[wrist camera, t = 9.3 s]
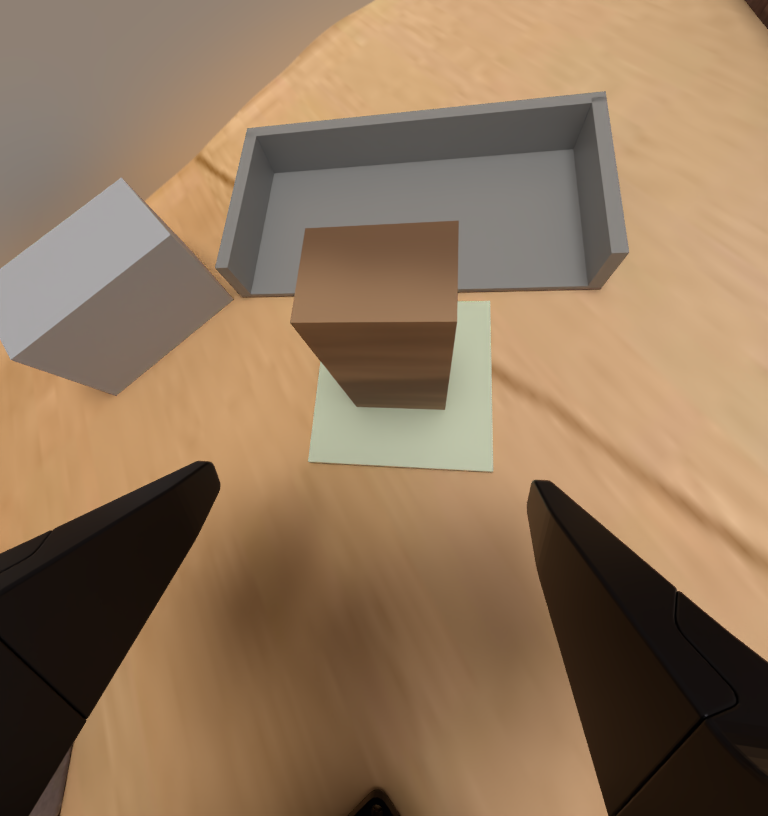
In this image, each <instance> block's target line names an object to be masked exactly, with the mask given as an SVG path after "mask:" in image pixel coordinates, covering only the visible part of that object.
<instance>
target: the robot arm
mask: <svg viewBox="0 0 768 816" xmlns="http://www.w3.org/2000/svg"><path fill="white" fill-rule="evenodd" d="M219 491H220V481H219V478H218V475H217V472H216V469H215V467H214V464H213V463H212V462H209V461H196V462H194V463H192V464H190V465H188V466H185V467H183V468H181V469H179V470H177V471H175V472H173V473H171V474H169V475H166V476H164V477H162V478H160V479H158V480H156V481H154V482H152V483H150V484H147V485H145V486H143V487H141V488H139V489H137V490H135V491H133V492H131V493H128V494H126V495H124V496H122V497H120V498H118V499H116V500H114V501H112V502H109V503H107V504H105V505H103V506H101V507H99V508H97V509H95V510H93V511H90V512H88V513H86V514H84V515H82V516H80V517H78V518H76V519H74V520H71V521H69V522H67V523H65V524H63V525H61V526H59V527H57V528H55V529H54V530H53V531H48V532H46V533H44V534H42V535H40V536H37V537H35V538H33V539H31V540H29V541H27V542H25V543H22V544H20V545H18V546H16V547H14V548H12V549H9V550H7V551H5V552H3V553H1V554H0V816H29V815H30V814H31V812H32V810H33V809H34V807H35V805H36V804H37V802H38V800H39V799H40V797H41V796H42V794H43V792H44V791H45V789H46V787H47V786H48V784H49V782H50V781H51V779H52V777H53V776H54V774H55V772H56V771H57V769H58V767H59V766H60V764H61V762H62V761H63V759H64V757H65V756H66V754H67V752H68V751H69V749H70V747H71V746H72V744H73V742H74V741H75V739H76V738H77V736H78V734H79V733H80V731H81V729H82V728H83V726H84V724H85V723H86V719H87V718H88V717H89V716H90V714H91V712H92V711H93V709H94V707H95V706H96V704H97V702H98V701H99V699H100V697H101V696H102V694H103V692H104V691H105V689H106V687H107V686H108V684H109V682H110V681H111V679H112V677H113V676H114V674H115V672H116V671H117V669H118V668H119V666H120V664H121V663H122V661H123V659H124V658H125V656H126V654H127V653H128V651H129V649H130V648H131V646H132V644H133V643H134V641H135V639H136V638H137V636H138V634H139V633H140V631H141V629H142V628H143V626H144V625H145V623H146V621H147V620H148V618H149V616H150V615H151V613H152V611H153V610H154V608H155V606H156V605H157V603H158V601H159V600H160V598H161V596H162V595H163V593H164V591H165V590H166V588H167V586H168V585H169V583H170V581H171V580H172V578H173V577H174V575H175V573H176V572H177V570H178V568H179V567H180V565H181V563H182V562H183V560H184V558H185V557H186V555H187V553H188V552H189V550H190V548H191V547H192V545H193V543H194V542H195V540H196V538H197V536H198V534H199V532H200V530H201V528H202V526H203V524H204V522H205V520H206V518H207V516H208V514H209V512H210V510H211V508H212V506H213V503H214V501H215V499H216V497H217V495H218V493H219ZM527 515H528V521H529V527H530V532H531V538H532V544H533V550H534V556H535V562H536V567H537V571H538V575H539V579H540V582H541V586H542V589H543V593H544V596H545V600H546V603H547V606H548V610H549V613H550V617H551V620H552V624H553V627H554V631H555V634H556V637H557V641H558V644H559V648H560V651H561V655H562V658H563V661H564V665H565V668H566V672H567V675H568V679H569V682H570V685H571V689H572V692H573V696H574V699H575V703H576V706H577V709H578V713H579V716H580V720H581V723H582V727H583V730H584V734H585V737H586V740H587V744H588V747H589V751H590V754H591V758H592V761H593V764H594V768H595V771H596V775H597V778H598V782H599V785H600V788H601V792H602V795H603V799H604V802H605V806H606V809H607V813H608V816H768V662H767V661H766V660H765V659H763V658H762V657H761V656H759V655H758V654H757V653H756V652H754V651H753V650H752V649H750V648H749V647H748V646H747V645H745V644H744V643H743V642H741V641H740V640H739V639H738V638H736V637H735V636H734V635H732V634H731V633H730V632H729V631H727V630H726V629H725V628H724V627H723V626H721V625H720V624H719V623H718V622H716V621H715V620H714V619H713V618H712V617H710V616H709V615H708V614H707V613H706V612H704V611H703V610H702V609H701V608H699V607H698V606H697V605H696V604H695V603H694V602H692V601H691V600H690V599H689V598H688V597H687V596H685V595H684V594H683V593H682V592H680V591H677V589H676V587H675V586H673V585H672V584H671V583H670V582H669V581H668V580H666V579H665V578H664V577H663V576H662V575H660V574H659V573H658V572H657V571H656V570H655V569H653V568H652V567H651V566H650V565H649V564H648V563H646V562H645V561H644V560H643V559H642V558H640V557H639V556H638V555H637V554H636V553H635V552H633V551H632V550H631V549H630V548H629V547H628V546H626V545H625V544H624V543H623V542H622V541H621V540H619V539H618V538H617V537H616V536H615V535H613V534H612V533H611V532H610V531H609V530H608V529H606V528H605V527H604V526H603V525H602V524H601V523H599V522H598V521H597V520H596V519H595V518H593V517H592V516H591V515H590V514H589V513H588V512H586V511H585V510H584V509H583V508H582V507H581V506H579V505H578V504H577V503H576V502H575V501H574V500H572V499H571V498H570V497H569V496H568V495H566V494H565V493H564V492H563V491H562V490H561V489H559V488H558V487H557V486H556V485H555V484H554V483H552V482H551V481H548V480H534V481H532V483H531V487H530V492H529V497H528V501H527ZM374 805H379V806H380V807H381V808H382V811H381V812H377V811H376V810H375V809H374V808H373V806H374ZM348 816H400V815H399V814H398V812H397V811H396V809H395V807H394V806H393V804H392V803H391V801H390V800H389V798H388V796H387V795H386V794H385V793H384V792H383V791H381V790H374V791H372V792H371V793H370V794H369V795H368V796H367V797H366V798H365V799H364V800H363V801H362V802H361V803H360V804H359V805H358V806H357V807H356V808H355V809H354V810H353V811H352V812H351V813H350V814H349V815H348Z"/></svg>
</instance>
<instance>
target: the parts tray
mask: <svg viewBox="0 0 768 816" xmlns="http://www.w3.org/2000/svg"><path fill="white" fill-rule="evenodd" d="M439 221H459V241H458V292H488V291H532V290H575V289H601V288H602V286H603V285H604V284H605V283H606V281H607V280H608V279H609V278H610V276H611V275H612V274H613V272H614V271H615V270H616V269H617V267H618V266H619V265H620V264H621V262H622V261H623V260H624V258H625V257H626V256H627V255H628V253H629V248H628V241H627V235H626V228H625V221H624V214H623V207H622V200H621V194H620V187H619V180H618V173H617V166H616V159H615V153H614V146H613V139H612V132H611V125H610V118H609V112H608V105H607V98H606V91H604V92H595V93H585V94H575V95H566V96H556V97H546V98H537V99H527V100H517V101H507V102H498V103H488V104H478V105H469V106H459V107H449V108H440V109H430V110H420V111H411V112H401V113H391V114H382V115H372V116H362V117H353V118H343V119H333V120H323V121H314V122H304V123H294V124H285V125H275V126H265V127H256V128H247V132H246V136H245V141H244V145H243V149H242V154H241V158H240V162H239V167H238V171H237V175H236V180H235V184H234V188H233V193H232V197H231V201H230V206H229V210H228V214H227V219H226V223H225V227H224V232H223V236H222V240H221V245H220V249H219V253H218V258H217V262H216V266H215V268H216V270H217V271H218V272H219V273H220V274H221V275H222V276H223V277H224V278H225V279H226V280H227V281H228V282H229V284H230V285H231V286H232V287H233V288H234V289H235V290H236V291H237V292H238V293H239V294H240V295H241V297H271V296H294V295H295V289H296V283H297V277H298V270H299V264H300V258H301V251H302V245H303V239H304V233H305V228H320V227H340V226H360V225H380V224H400V223H419V222H439Z"/></svg>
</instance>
